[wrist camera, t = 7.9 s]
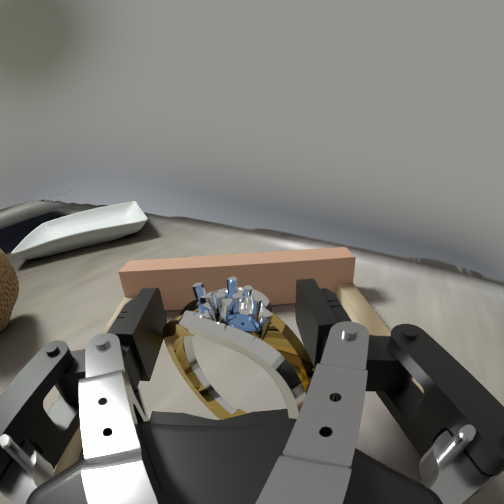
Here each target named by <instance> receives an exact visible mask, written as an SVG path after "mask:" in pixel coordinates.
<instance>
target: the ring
mask: <svg viewBox="0 0 504 504" xmlns="http://www.w3.org/2000/svg"><path fill="white" fill-rule="evenodd" d="M192 288H193V291H194V294H195V297H196V299H195V300H193V301H192V302H190V303H189V304H187V305H186V306H185V307H184V308H183V310H182V311H181V313H180V315H179V316H176V317H175V318H173V319H172V320H171V321H169V322H168V323H167V324H165V325H164V327H163V337H164V341H165V344H166V347H167V349H168V352H169V354H170V356H171V358H172V360H173V362H174V363H175V365H176V367H177V369H178V370H179V372H180V373H181V375H182V377H183V378H184V379H185V381H186V382H187V384H188V385H189V387H190V388H191V389H192V390H193V392H194V393H195V394H196V395H197V397H198V398H199V399H200V400H201V401H202V402H203V403H204V404H205V406H206V407H207V408H208V409H209V410H210V411H211V412H212V413H214V414H215V415H216V416H217V417H218V418H219V419H220V420H222V419H227V418H231V417H235V416H239V415H243V414H247V413H246V412H244V411H242V410H240V409H238V410H236V409H234V408H233V407H232V406H231V405H229V404H228V403H227V402H226V401H225V400H224V399H223V398H222V397H221V396H220V395H219V394H218V393H217V392H216V391H215V389H214V388H213V387H212V386H211V384H210V383H209V382H208V380H207V379H206V377H205V376H204V374H203V372H202V370H201V368H200V366H199V364H198V362H197V360H196V357H195V354H194V349H193V342H192V336H195V335H196V336H199V337H202V338H205V339H208V340H211V341H213V342H216V343H218V344H221V345H223V346H226V347H228V348H230V349H233V350H235V351H237V352H239V353H241V354H243V355H244V356H246V357H248V358H250V359H251V360H253V361H254V362H255V363H257V364H258V365H259V366H261V367H262V368H263V369H264V370H265V371H266V372H267V373H268V374H269V375H270V377H271V378H272V379H273V380H274V382H275V383H276V385H277V386H278V388H279V390H280V392H281V394H282V396H283V399H284V401H285V405H286V409H287V410H288V415H289V418H294V419H297V417H298V415H299V412H300V410H301V407H302V405H303V402H304V399H305V397H306V394H307V391H308V388H309V386H310V383H311V380H312V377H313V374H314V371H315V369H314V366H313V364H312V361H311V359H310V357H309V355H308V353H307V351H306V349H305V348H304V346H303V345H302V343H301V342H300V340H299V339H298V338H297V336H296V335H295V334H294V333H293V331H292V330H291V329H290V328H289V327H288V326H287V325H286V324H285V323H284V322H283V321H282V320H281V319H280V318H278V317H277V316H276V315H275V314H274V313H272V312H271V303H270V301H269V299H268V298H267V297H266V296H265V295H264V294H263V293H261V292H259V291H257V290H254V289H253V288H252V286H249V285H246V286H244V287H238V279H237V278H236V277H235V276H233V277H230V278H227V288H225V289H220V290H216V291H213V292H210V293H207V294H206V292H205V288H204V285H203V283H195V284H194V285H193V286H192ZM262 340H263V341H262Z"/></svg>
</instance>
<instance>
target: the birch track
mask: <svg viewBox="0 0 504 504" xmlns="http://www.w3.org/2000/svg"><path fill="white" fill-rule="evenodd" d="M336 297H337V298H338V301H340V303H341V305H342V306H343V308H344V309H345V311H346V312H347V314H348V316H349V317H350V319H351V321H352V322H356V323H359V324H361V325H363V326H365V327H366V328H367V330H368V331H369V335H375V336H390V335H391V332H390V331H389V330H388V328H387V327H386V326H385V324H384V323H383V322H382V320H381V319H380V318H379V316H378V315H377V314H376V312H375V311H374V310H373V308H372V307H371V306H370V304H369V303H368V302H367V300H366V299H365V298H364V297H363V295H362V294H361V293H360V291H359V290H358V289H357V288H356V286H355V285H354V284H353V283H347V284H337V294H336ZM132 299H136V297H125V298H124V299H123V301H122V302H121V304H120V305H119V307H118V309H117V310H116V312H115V313H114V315H113V316H112V318H111V319H110V321H109V322H108V324H107V326H106V327H105V329H104V330H103V332H102V334H104V333H107V332H108V330H109V328H110V327H111V325H112V324H113V322H114V320H115V319H116V318H117V316H118V314H119V313H120V311H121V309H122V308H123V306H124V305H125V304H126V303H128V302H129V301H130V300H132ZM412 380H413V382H414V383H415V384H416V385H417V386H418V387H419V389H420V390H421V391H422V392H423V393H424V391H423V388H422V386H421V385H420V384H419V383H418V382H417V380H416V379H415V378H414V377H413V378H412ZM82 448H83V441H82V432H81V424H80V426H79V427H78V429H77V431H76V432H75V434H74V436H73V437H72V439H71V441H70V443H69V444H68V446H67V448H66V449H65V451H64V453H63V455H62V456H61V458H60V460H59V462H58V464H57V465H56V467H55V469H54V476H56V475H57V474H59V473H60V472H62V471H63V470H65V469H67V468H68V467H70V466H71V465H73V464H74V463H76V462H77V461H78V459H79V456H80V453H81V451H82Z"/></svg>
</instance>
